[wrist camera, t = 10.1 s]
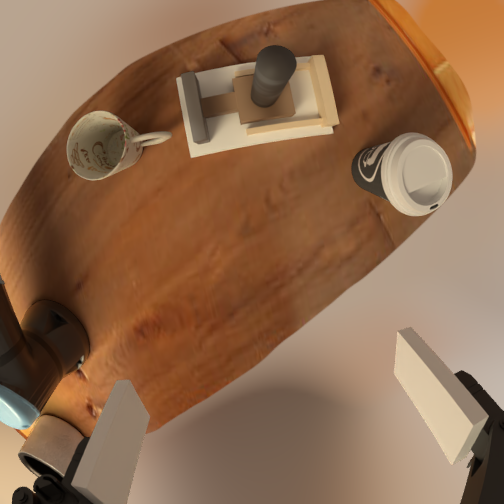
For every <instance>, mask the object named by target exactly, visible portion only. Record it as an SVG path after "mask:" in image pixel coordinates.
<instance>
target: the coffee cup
mask: <svg viewBox="0 0 504 504" xmlns="http://www.w3.org/2000/svg"><path fill="white" fill-rule="evenodd" d="M352 175H353V178H354V180H355V182H356V183H357V184H358V185H359V186H360V187H361V188H363V189H364V190H367V191H369V192H371V193H373V194H375V195H377V196H379V197H381V198H383V199H385V200H387V201H389V202H391V204H392V205H393V206H394V207H395V208H396V209H397V210H399V211H400V212H402V213H404V214H406V215H410V216H421V215H426V214H428V213H430V212H432V211H434V210H435V209H437V208H439V207H440V206H441V205H442V204H443V203H444V202H445V200H446V199H447V197H448V195H449V193H450V190H451V186H452V168H451V164H450V161H449V159H448V156H447V155H446V153H445V152H444V150H443V149H442V148H441V147H440V146H439V145H438V144H437V143H436V142H435V141H433V140H432V139H431V138H429V137H427V136H425V135H422V134H420V133H413V132H411V133H405V134H402V135H400V136H398V137H397V138H395V139H394V140H393V141H392V142H388V143H385V144H381V145H378V146H374V147H371V148H367V149H364V150H362V151H360V152H359V153H358V154H357V155H356V156H355V158H354V159H353V162H352Z"/></svg>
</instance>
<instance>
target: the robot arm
mask: <svg viewBox="0 0 504 504" xmlns="http://www.w3.org/2000/svg"><path fill="white" fill-rule="evenodd" d="M4 284H5V283H4V281H3V280H2V278H1V275H0V421H1V422H3V423H4V424H6V425H8V426H10V427H13V428H16V429H27V428H29V427H30V426H31V425H32V423H33V422H34V421H35V419H36V418H37V417H39V415H40V412H41V411H42V409H43V407H44V406H45V404H46V403H47V401H48V399H49V398H50V396H51V395H52V393H53V392H54V390H55V389H56V387H57V385H58V384H59V382H60V381H61V380H62V379H63V378H64V377H66V376H68V375H70V374H71V373H73V372H75V371H76V370H78V369H79V368H80V367H81V366H82V365H83V364H84V362H85V361H86V359H87V358H88V355H89V341H88V337H87V334H86V332H85V330H84V328H83V326H82V325H81V323H80V322H79V320H78V319H77V318H76V317H75V316H74V315H73V314H72V313H71V312H70V311H69V310H68V309H67V308H65V307H64V306H62V305H61V304H59V303H57V302H54V301H51V300H41V301H38V302H36V303H35V304H34V305H32V306H31V307H30V308H29V309H28V310H27V312H26V313H25V315H24V318H23V320H22V322H21V324H19V322H18V320H17V317H16V315H15V312H14V310H13V307H12V305H11V302H10V299H9V297H8V294H7V291H6V288H5V285H4ZM394 374H395V376H396V377H397V379H398V380H399V382H400V383H401V385H402V386H403V388H404V390H405V391H406V393H407V394H408V396H409V397H410V399H411V400H412V402H413V403H414V405H415V407H416V408H417V410H418V411H419V413H420V414H421V416H422V418H423V419H424V421H425V422H426V424H427V425H428V427H429V429H430V430H431V432H432V434H433V435H434V437H435V438H436V440H437V442H438V443H439V445H440V447H441V448H442V450H443V452H444V453H445V455H446V457H447V458H448V460H449V462H450V463H451V465H453V464H455V463H457V462H459V461H461V460H462V459H464V458H466V457H467V455H468V454H469V452H470V450H472V452H473V453H474V456H473V457H472V459H471V460H470V462H469V463H468V466H467V468H469V467H470V465H471V467H470V471H469V475H468V479H467V483H466V486H465V490H464V493H463V496H462V500H461V503H460V504H504V411H503V410H502V409H501V408H500V407H499V406H498V405H497V404H496V402H495V401H494V400H493V399H492V398H491V397H490V396H489V394H488V393H487V392H486V391H485V390H483V388H482V386H481V385H480V384H478V382H477V381H476V380H475V379H474V378H473V377H472V376H471V375H470V374H468V373H466V372H464V371H462V370H461V371H459V372H457V373H455V374H453V373H452V371H451V370H450V369H449V368H448V367H447V366H446V365H445V364H444V362H443V361H442V360H441V359H440V358H439V357H438V356H437V355H436V354H435V352H434V351H433V350H432V349H431V348H430V347H429V346H428V345H427V344H426V343H425V341H424V340H423V339H422V338H421V337H420V336H419V335H418V334H417V333H416V332H415V331H414V330H413V329H412V328H411V327H409V328H406V329H403V330H400V331H398V333H397V346H396V357H395V367H394ZM149 419H150V416H149V414H148V412H147V411H146V409H145V407H144V405H143V404H142V402H141V400H140V398H139V396H138V395H137V393H136V391H135V389H134V387H133V385H132V383H131V382H130V380H117V381H116V383H115V385H114V387H113V389H112V391H111V393H110V396H109V398H108V400H107V402H106V404H105V406H104V408H103V411H102V413H101V415H100V417H99V419H98V422H97V424H96V426H95V428H94V431H93V433H92V435H91V437H84V438H83V439H82V440H81V442H80V443H79V444H78V445H77V448H76V450H75V452H74V453H75V454H73V457H72V461H70V464H69V466H68V468H67V471H66V473H65V475H64V478H63V480H62V482H59V481H58V480H57V479H56V478H55V477H54V476H52V475H50V474H45V475H41V476H40V477H38V478H37V479H36V481H35V483H34V485H33V488H34V489H33V490H34V492H36V493H33V492H32V491H31V490H30V489H29V488H27V487H19V488H18V489H17V490H15V492H14V493H13V497H12V504H127V500H128V496H129V492H130V488H131V484H132V480H133V477H134V473H135V469H136V465H137V461H138V457H139V454H140V450H141V447H142V443H143V439H144V436H145V432H146V429H147V425H148V422H149Z"/></svg>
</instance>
